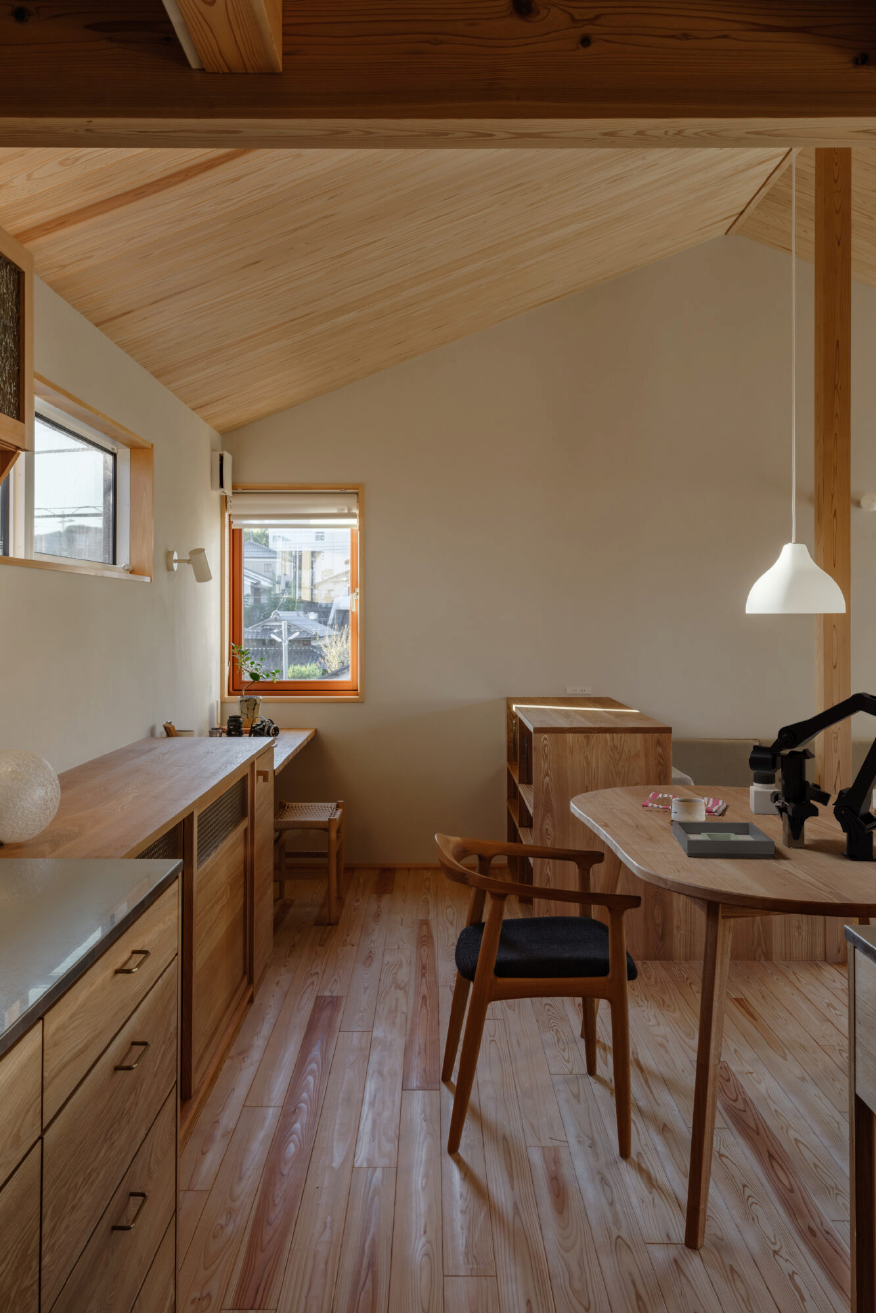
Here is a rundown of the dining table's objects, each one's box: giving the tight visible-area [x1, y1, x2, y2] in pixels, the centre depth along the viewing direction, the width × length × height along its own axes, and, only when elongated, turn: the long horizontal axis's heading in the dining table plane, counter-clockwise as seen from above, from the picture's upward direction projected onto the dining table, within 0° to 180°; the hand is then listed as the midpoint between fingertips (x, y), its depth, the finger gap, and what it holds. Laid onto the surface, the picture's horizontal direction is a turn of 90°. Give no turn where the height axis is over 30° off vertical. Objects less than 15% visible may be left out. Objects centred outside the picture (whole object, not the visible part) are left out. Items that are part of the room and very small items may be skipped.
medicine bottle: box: [749, 771, 780, 816], centre depth 248 cm, size 7×7×12 cm
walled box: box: [672, 821, 775, 859], centre depth 208 cm, size 20×20×4 cm
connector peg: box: [782, 812, 805, 849], centre depth 208 cm, size 4×4×8 cm
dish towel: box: [641, 791, 727, 817], centre depth 255 cm, size 17×23×4 cm
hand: (793, 837), depth 209 cm, fingers closed on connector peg, 4 cm apart
